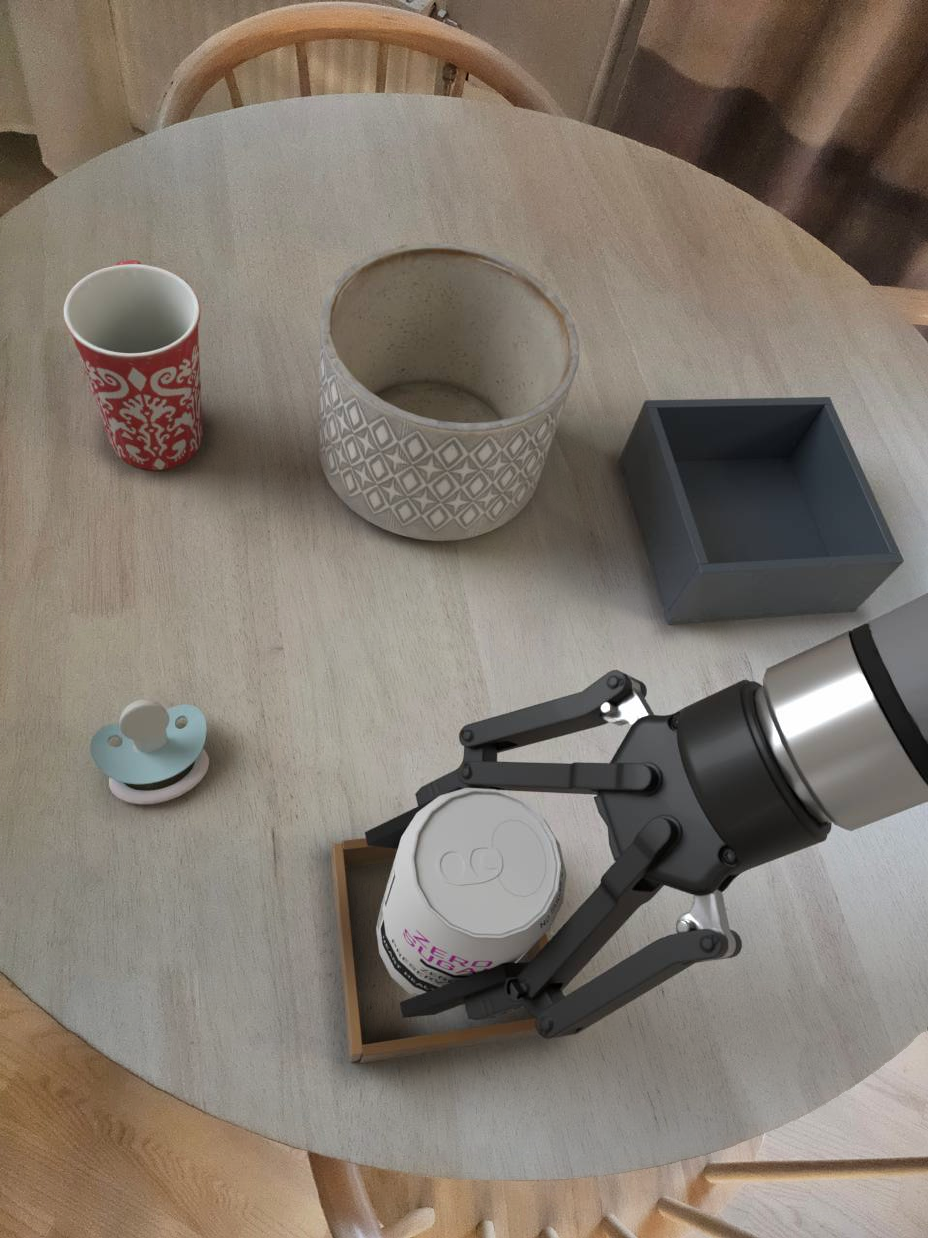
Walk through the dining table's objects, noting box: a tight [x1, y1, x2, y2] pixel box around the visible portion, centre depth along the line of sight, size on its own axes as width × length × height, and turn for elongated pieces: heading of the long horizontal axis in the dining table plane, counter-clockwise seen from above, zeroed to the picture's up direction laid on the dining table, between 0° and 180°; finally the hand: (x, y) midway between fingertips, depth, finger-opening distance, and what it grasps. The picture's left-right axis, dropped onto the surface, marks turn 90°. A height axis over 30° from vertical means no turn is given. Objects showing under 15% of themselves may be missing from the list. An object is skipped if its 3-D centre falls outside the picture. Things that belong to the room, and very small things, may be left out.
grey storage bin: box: [618, 396, 905, 626], centre depth 77 cm, size 17×17×8 cm
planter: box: [317, 242, 580, 542], centre depth 74 cm, size 19×19×14 cm
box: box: [330, 837, 549, 1064], centre depth 58 cm, size 12×12×4 cm
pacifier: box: [89, 698, 210, 805], centre depth 61 cm, size 7×6×6 cm
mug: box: [62, 259, 204, 471], centre depth 72 cm, size 13×9×14 cm
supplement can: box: [375, 788, 567, 997], centre depth 50 cm, size 8×8×15 cm
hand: (399, 921), depth 50 cm, fingers closed on supplement can, 8 cm apart
